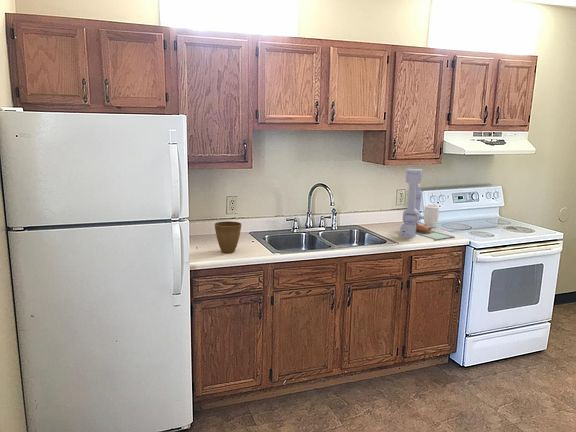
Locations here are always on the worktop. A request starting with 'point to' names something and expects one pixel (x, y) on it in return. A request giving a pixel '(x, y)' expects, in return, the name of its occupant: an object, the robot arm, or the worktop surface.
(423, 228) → the t block
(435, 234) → the mat
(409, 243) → the worktop surface
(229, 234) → the plant pot
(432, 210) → the jar
